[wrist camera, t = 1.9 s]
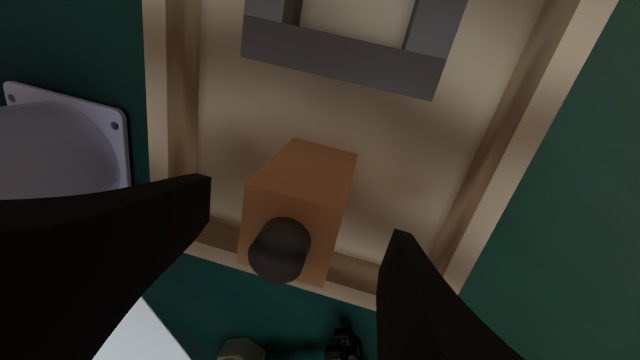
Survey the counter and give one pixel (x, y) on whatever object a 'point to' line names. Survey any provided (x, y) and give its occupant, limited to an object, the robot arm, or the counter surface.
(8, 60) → the counter surface
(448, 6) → the walled box
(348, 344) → the valve
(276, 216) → the connector
